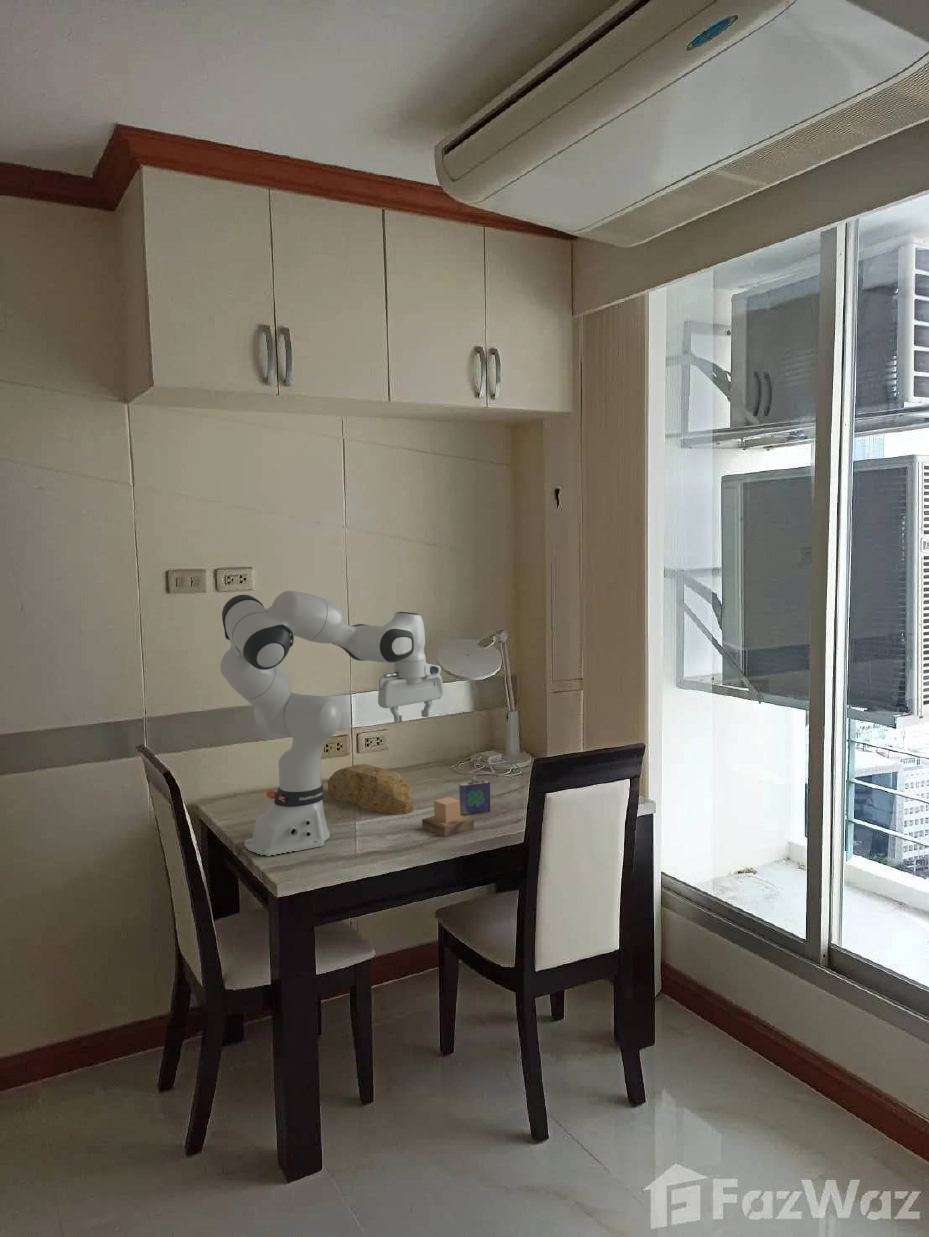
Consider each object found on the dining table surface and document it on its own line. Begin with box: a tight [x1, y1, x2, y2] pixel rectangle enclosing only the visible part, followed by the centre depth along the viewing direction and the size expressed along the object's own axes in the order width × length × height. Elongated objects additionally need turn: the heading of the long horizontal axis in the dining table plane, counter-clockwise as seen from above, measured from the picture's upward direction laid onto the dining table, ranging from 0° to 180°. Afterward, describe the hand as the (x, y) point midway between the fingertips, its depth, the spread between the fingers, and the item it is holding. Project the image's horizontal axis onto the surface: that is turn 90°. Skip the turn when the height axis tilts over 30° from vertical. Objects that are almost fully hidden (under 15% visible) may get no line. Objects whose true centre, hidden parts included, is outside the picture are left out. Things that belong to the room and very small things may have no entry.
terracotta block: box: [433, 796, 460, 823], centre depth 252 cm, size 5×5×5 cm
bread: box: [327, 763, 414, 816], centre depth 279 cm, size 36×11×10 cm, turn 46°
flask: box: [458, 775, 491, 817], centre depth 265 cm, size 9×3×11 cm, turn 109°
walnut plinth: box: [421, 815, 475, 838], centre depth 253 cm, size 10×10×3 cm
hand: (411, 719), depth 256 cm, fingers open, 8 cm apart
